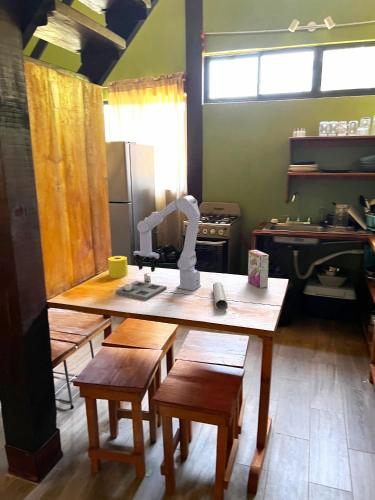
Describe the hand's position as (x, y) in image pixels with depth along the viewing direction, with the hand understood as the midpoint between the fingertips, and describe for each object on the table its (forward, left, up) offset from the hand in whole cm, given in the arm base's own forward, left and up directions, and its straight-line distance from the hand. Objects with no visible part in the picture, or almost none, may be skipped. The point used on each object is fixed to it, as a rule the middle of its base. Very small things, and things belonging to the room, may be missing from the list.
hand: (146, 270), depth 181 cm
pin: (-2, +17, -6) cm, 19 cm away
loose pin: (0, 0, -6) cm, 6 cm away
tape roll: (+21, -2, -6) cm, 22 cm away
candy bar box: (-51, -22, -6) cm, 56 cm away
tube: (-43, +5, -7) cm, 44 cm away
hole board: (-6, +13, -6) cm, 16 cm away
